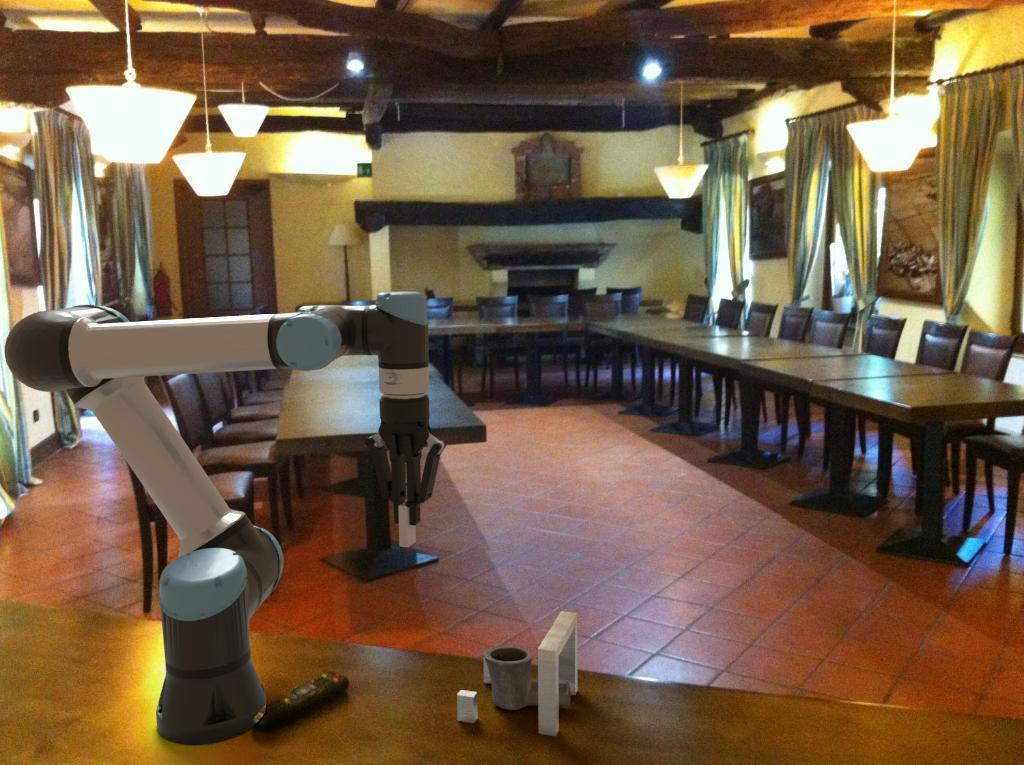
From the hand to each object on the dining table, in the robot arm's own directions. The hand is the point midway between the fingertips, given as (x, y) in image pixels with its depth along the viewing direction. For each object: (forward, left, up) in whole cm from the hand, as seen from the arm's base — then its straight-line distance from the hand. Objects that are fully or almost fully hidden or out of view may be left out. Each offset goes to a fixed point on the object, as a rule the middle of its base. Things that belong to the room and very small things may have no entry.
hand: (407, 543), depth 137 cm
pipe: (+20, -4, -22) cm, 30 cm away
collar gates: (+19, -5, -21) cm, 29 cm away
